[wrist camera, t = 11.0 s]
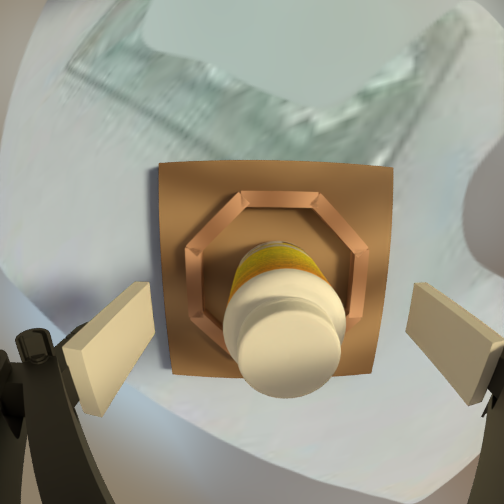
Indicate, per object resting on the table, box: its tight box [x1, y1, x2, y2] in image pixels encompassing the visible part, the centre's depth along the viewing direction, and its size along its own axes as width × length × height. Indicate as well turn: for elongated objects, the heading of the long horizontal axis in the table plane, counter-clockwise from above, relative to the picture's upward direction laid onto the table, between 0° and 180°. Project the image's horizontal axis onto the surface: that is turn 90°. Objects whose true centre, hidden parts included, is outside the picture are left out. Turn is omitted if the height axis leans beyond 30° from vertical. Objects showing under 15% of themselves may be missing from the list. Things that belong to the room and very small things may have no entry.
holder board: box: [159, 160, 393, 378], centre depth 21 cm, size 16×16×2 cm
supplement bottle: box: [223, 241, 346, 398], centre depth 16 cm, size 6×6×10 cm
